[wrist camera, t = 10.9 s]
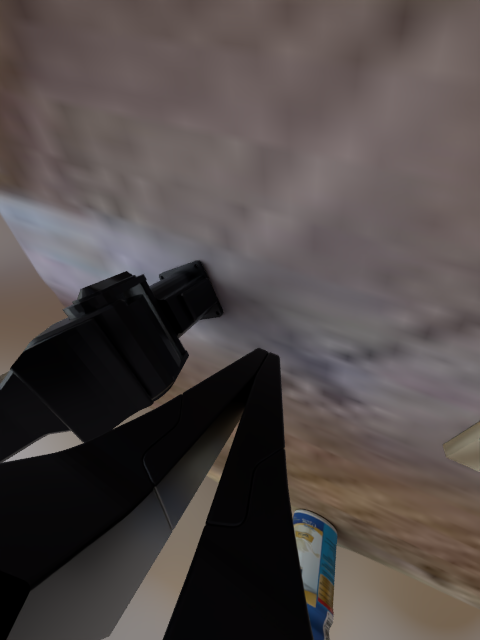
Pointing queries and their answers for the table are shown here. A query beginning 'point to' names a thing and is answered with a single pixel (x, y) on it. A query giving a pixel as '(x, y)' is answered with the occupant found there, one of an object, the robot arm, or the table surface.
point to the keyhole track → (465, 448)
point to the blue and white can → (317, 568)
